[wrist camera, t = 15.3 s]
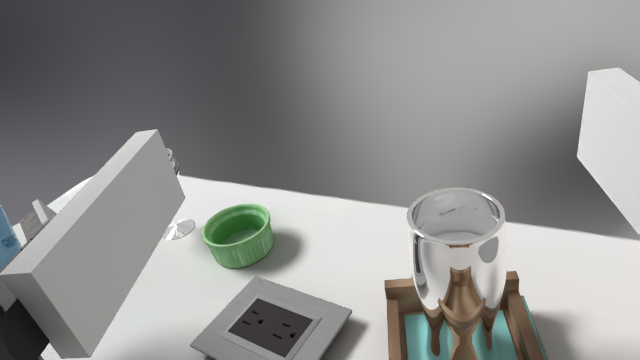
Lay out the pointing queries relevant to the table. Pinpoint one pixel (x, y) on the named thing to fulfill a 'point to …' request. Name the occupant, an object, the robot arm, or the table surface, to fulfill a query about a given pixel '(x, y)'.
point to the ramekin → (239, 235)
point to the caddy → (509, 329)
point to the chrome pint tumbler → (458, 270)
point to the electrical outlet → (272, 325)
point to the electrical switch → (36, 219)
